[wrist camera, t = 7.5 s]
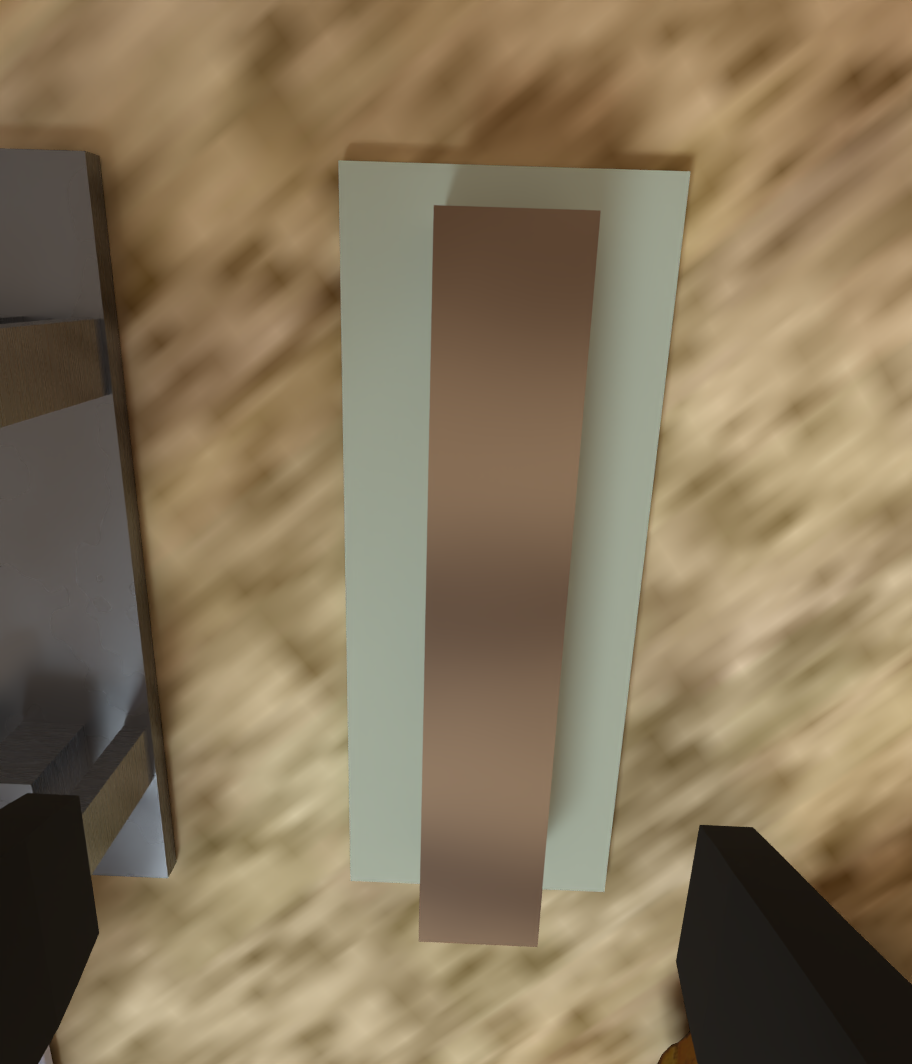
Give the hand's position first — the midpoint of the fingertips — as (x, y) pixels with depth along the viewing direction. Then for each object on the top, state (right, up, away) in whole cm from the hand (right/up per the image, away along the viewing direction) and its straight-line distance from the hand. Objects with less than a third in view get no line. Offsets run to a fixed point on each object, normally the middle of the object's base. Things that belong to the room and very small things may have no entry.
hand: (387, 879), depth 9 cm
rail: (+2, +3, +9) cm, 10 cm away
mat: (+2, +3, +9) cm, 10 cm away
